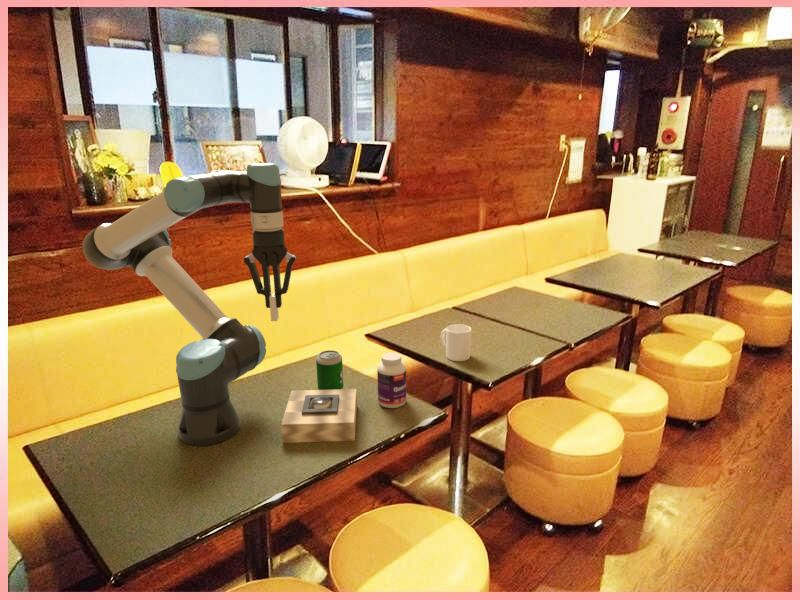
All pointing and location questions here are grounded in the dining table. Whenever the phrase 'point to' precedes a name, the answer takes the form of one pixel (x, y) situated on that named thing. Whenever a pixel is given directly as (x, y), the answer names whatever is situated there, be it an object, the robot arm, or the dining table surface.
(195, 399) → the robot arm
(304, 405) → the block
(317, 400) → the peg
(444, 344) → the mug
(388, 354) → the pill bottle
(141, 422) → the dining table surface
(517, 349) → the dining table surface
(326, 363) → the soda can
